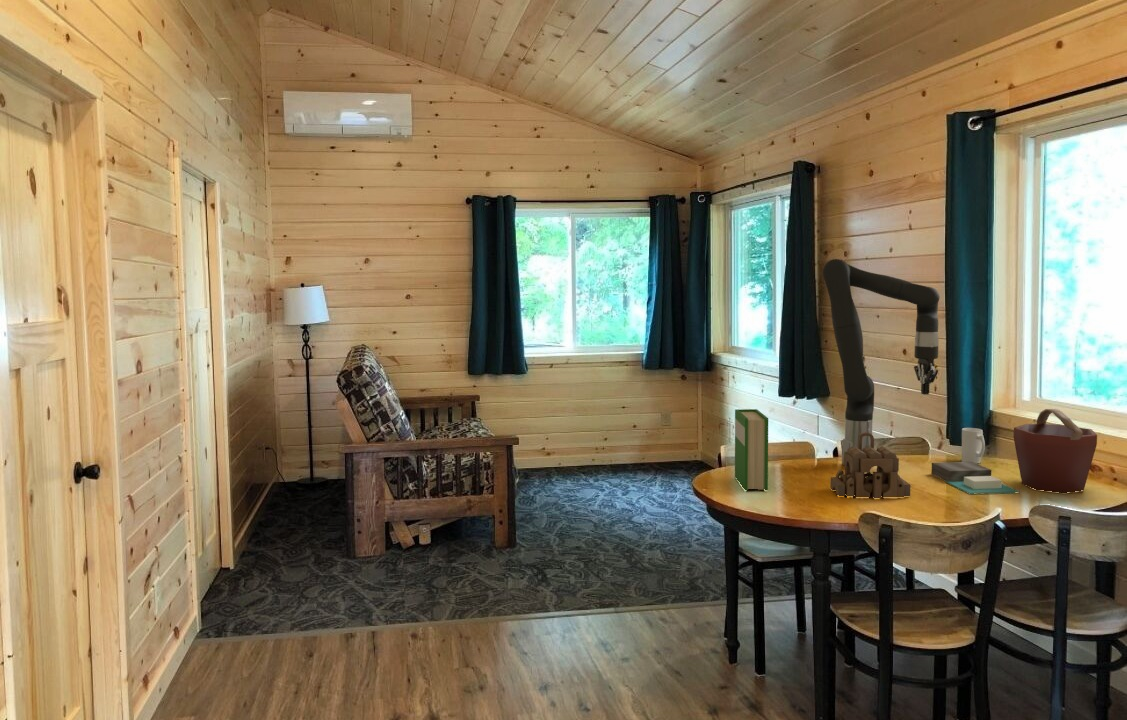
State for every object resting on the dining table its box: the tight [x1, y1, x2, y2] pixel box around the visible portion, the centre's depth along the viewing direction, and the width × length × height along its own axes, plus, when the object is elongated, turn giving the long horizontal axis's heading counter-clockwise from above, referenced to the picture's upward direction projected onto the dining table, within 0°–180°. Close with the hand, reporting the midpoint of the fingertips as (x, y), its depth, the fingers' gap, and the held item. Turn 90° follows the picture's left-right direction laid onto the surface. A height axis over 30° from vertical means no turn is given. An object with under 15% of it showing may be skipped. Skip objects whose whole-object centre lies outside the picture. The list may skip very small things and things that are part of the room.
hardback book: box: [734, 408, 769, 491], centre depth 265 cm, size 18×7×24 cm, turn 178°
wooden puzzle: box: [829, 433, 912, 499], centre depth 253 cm, size 22×15×19 cm, turn 86°
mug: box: [961, 427, 986, 464], centre depth 291 cm, size 10×7×12 cm, turn 9°
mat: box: [944, 481, 1021, 495], centre depth 258 cm, size 16×15×1 cm
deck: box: [930, 461, 992, 482], centre depth 270 cm, size 14×12×4 cm
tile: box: [964, 475, 1003, 489], centre depth 258 cm, size 9×6×2 cm, turn 93°
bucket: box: [1013, 408, 1098, 494], centre depth 256 cm, size 24×22×25 cm
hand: (925, 394), depth 279 cm, fingers closed
